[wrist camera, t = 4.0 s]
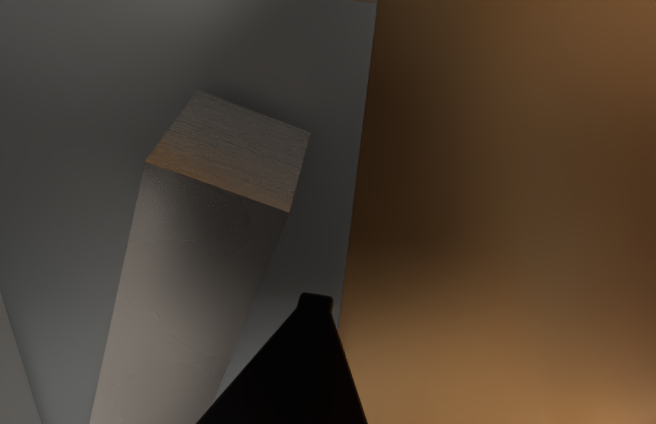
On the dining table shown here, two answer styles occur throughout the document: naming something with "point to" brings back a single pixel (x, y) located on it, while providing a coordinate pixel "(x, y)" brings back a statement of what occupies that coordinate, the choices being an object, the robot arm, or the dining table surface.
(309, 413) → the robot arm
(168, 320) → the tong arm
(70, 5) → the grey flat piece
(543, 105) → the dining table surface
